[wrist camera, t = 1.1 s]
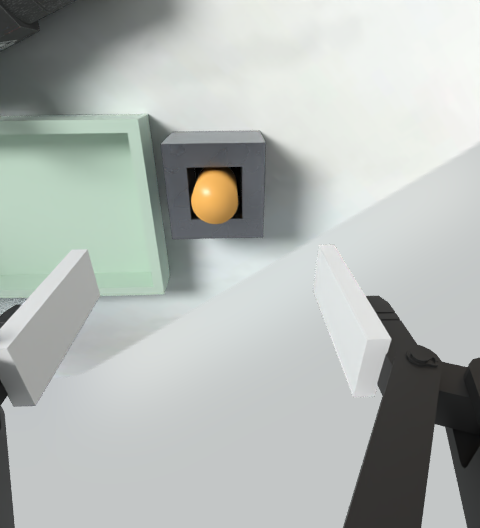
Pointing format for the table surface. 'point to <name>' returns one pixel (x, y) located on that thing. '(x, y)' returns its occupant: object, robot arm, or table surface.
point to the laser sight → (24, 18)
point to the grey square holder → (214, 155)
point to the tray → (80, 202)
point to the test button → (215, 195)
